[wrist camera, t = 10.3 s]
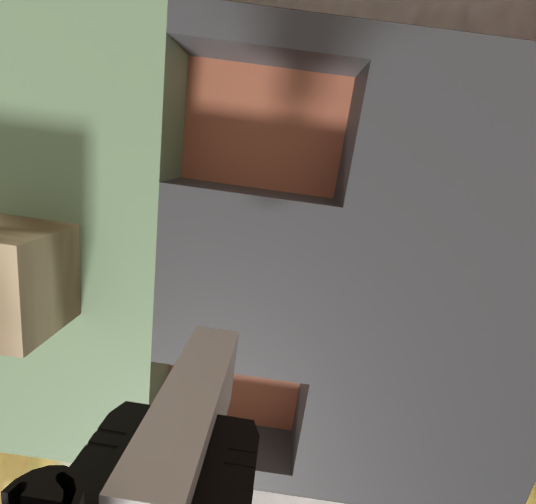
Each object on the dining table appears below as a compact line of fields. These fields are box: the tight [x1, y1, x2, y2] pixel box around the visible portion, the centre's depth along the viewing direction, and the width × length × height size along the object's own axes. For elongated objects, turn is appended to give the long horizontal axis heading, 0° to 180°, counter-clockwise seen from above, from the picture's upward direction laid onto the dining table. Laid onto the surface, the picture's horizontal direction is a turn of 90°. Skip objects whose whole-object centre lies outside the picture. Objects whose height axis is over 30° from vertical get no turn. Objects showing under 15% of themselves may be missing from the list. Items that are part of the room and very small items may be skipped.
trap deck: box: [0, 0, 536, 504], centre depth 20 cm, size 34×26×4 cm
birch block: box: [0, 213, 81, 358], centre depth 17 cm, size 5×5×4 cm
